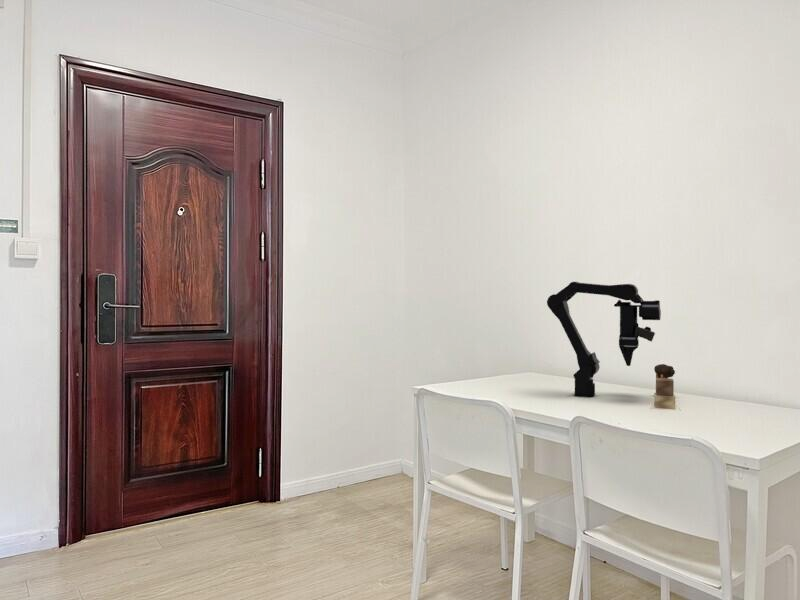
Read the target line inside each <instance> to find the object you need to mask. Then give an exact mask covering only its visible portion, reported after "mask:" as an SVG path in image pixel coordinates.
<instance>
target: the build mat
mask: <svg viewBox="0 0 800 600" xmlns="http://www.w3.org/2000/svg"><path fill="white" fill-rule="evenodd" d="M648 405H649V409H650V410H662V411H663V410H665V411H678V412H679V411H682V410H681V407H680V405H678V404H675V409H662V408H655V406H654V403H649V404H648Z"/></svg>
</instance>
